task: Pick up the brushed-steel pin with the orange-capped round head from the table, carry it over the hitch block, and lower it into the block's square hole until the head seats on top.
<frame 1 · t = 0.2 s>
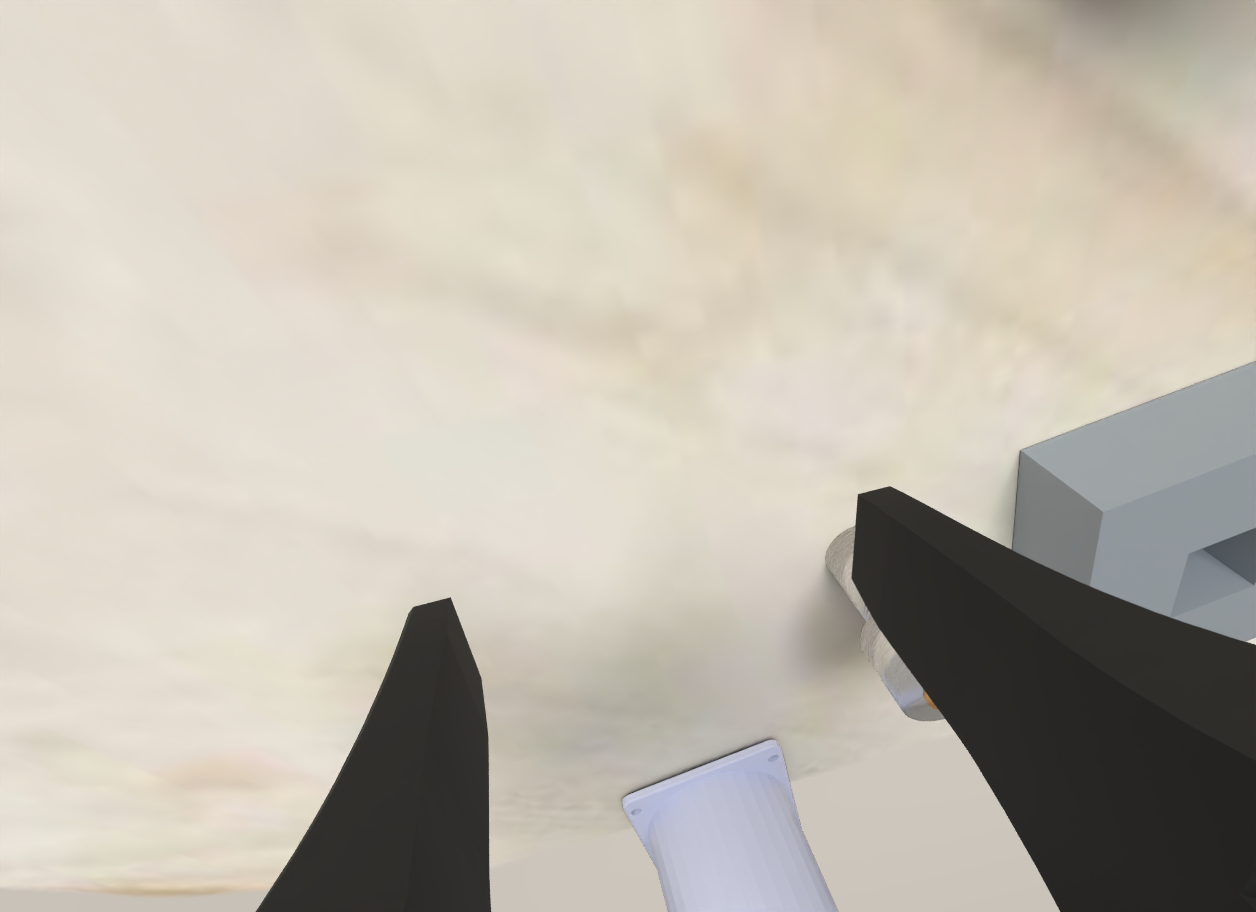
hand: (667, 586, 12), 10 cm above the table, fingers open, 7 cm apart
hitch block: (1137, 509, 30), on the table
pin: (856, 550, 27), on the table
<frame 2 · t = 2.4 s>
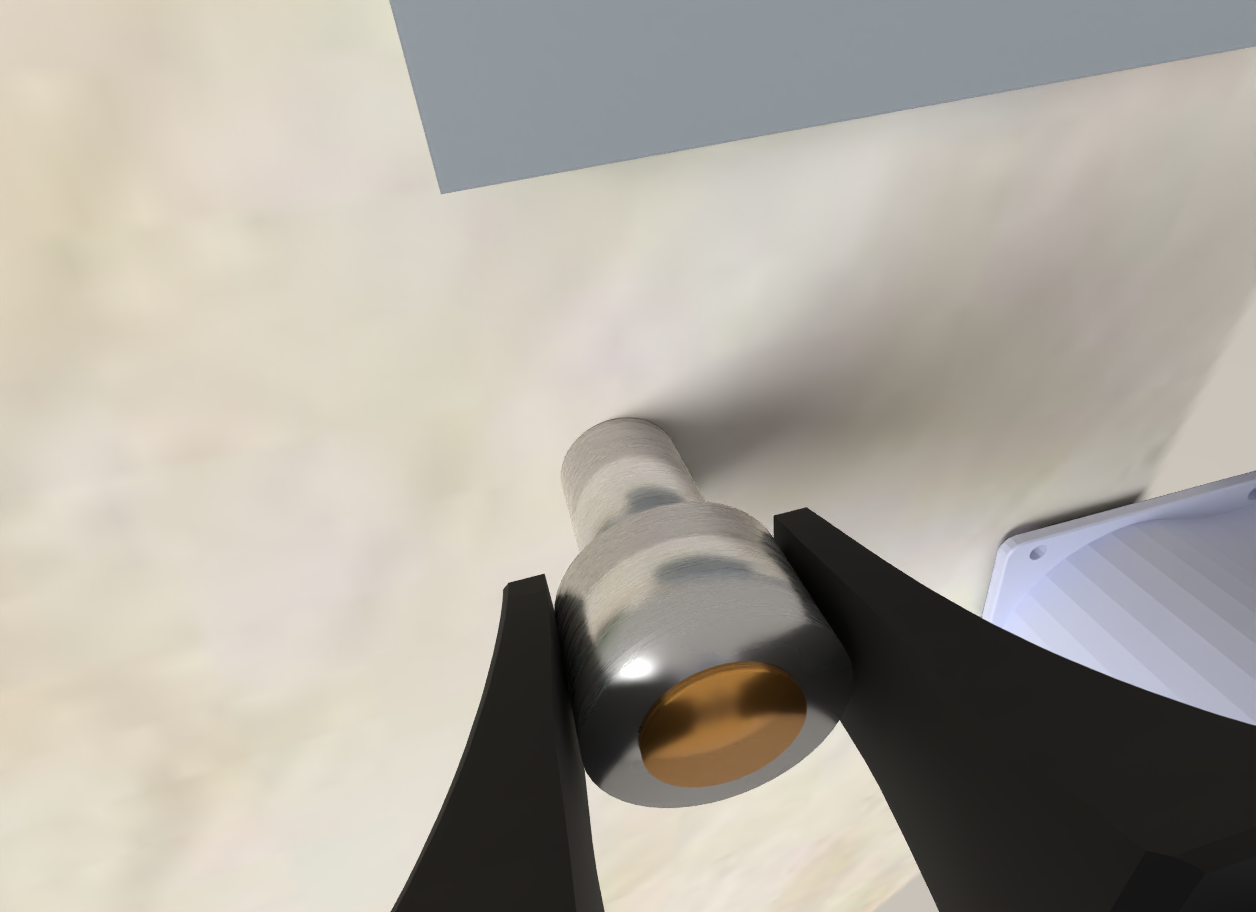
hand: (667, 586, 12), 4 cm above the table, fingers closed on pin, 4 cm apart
pin: (620, 470, 15), on the table, touching gripper
when the fingers open (5 cm above the table, at t = 6.3 s): pin drops 1 cm, resting on hitch block.
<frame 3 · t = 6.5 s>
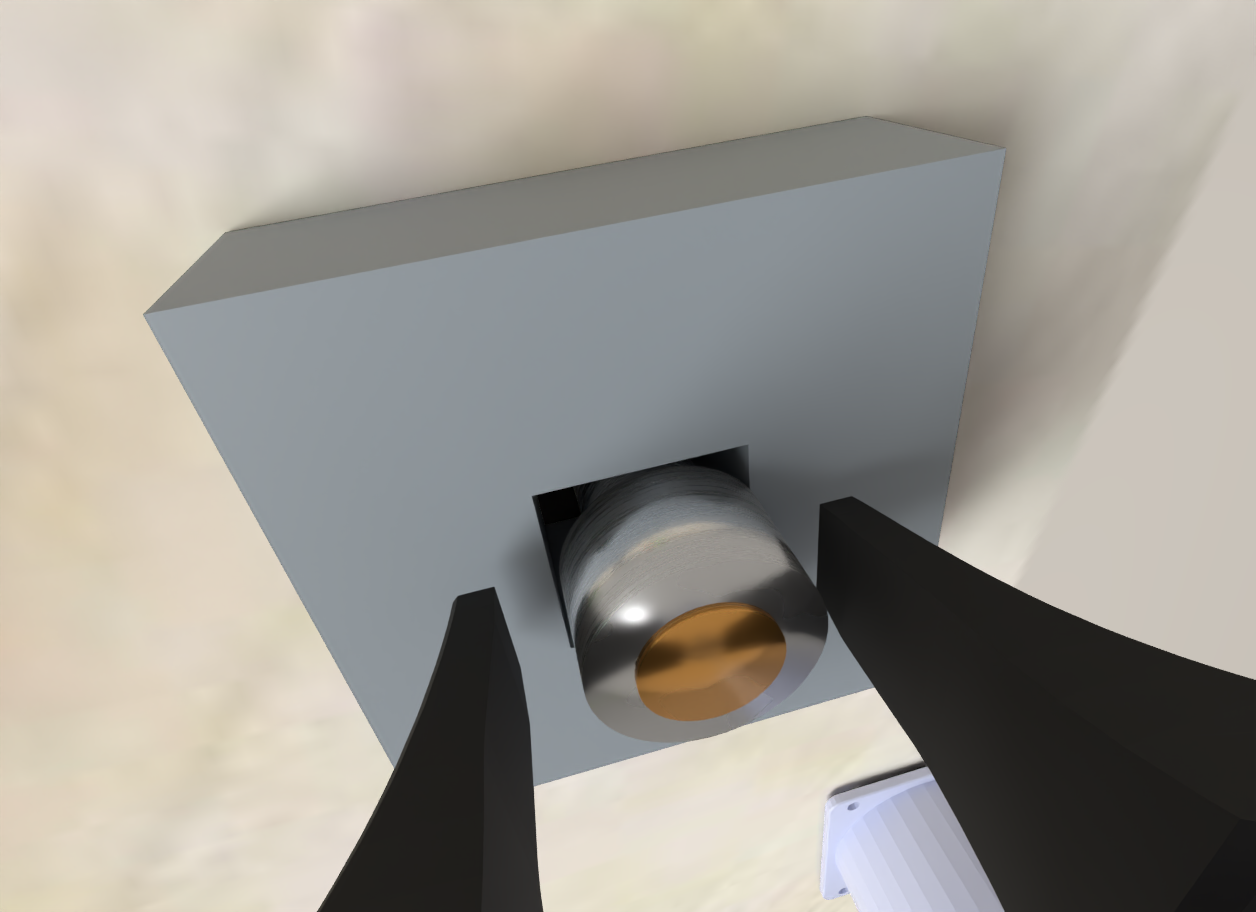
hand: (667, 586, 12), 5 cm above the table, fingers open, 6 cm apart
hitch block: (609, 442, 16), on the table
pin: (619, 446, 16), resting on hitch block
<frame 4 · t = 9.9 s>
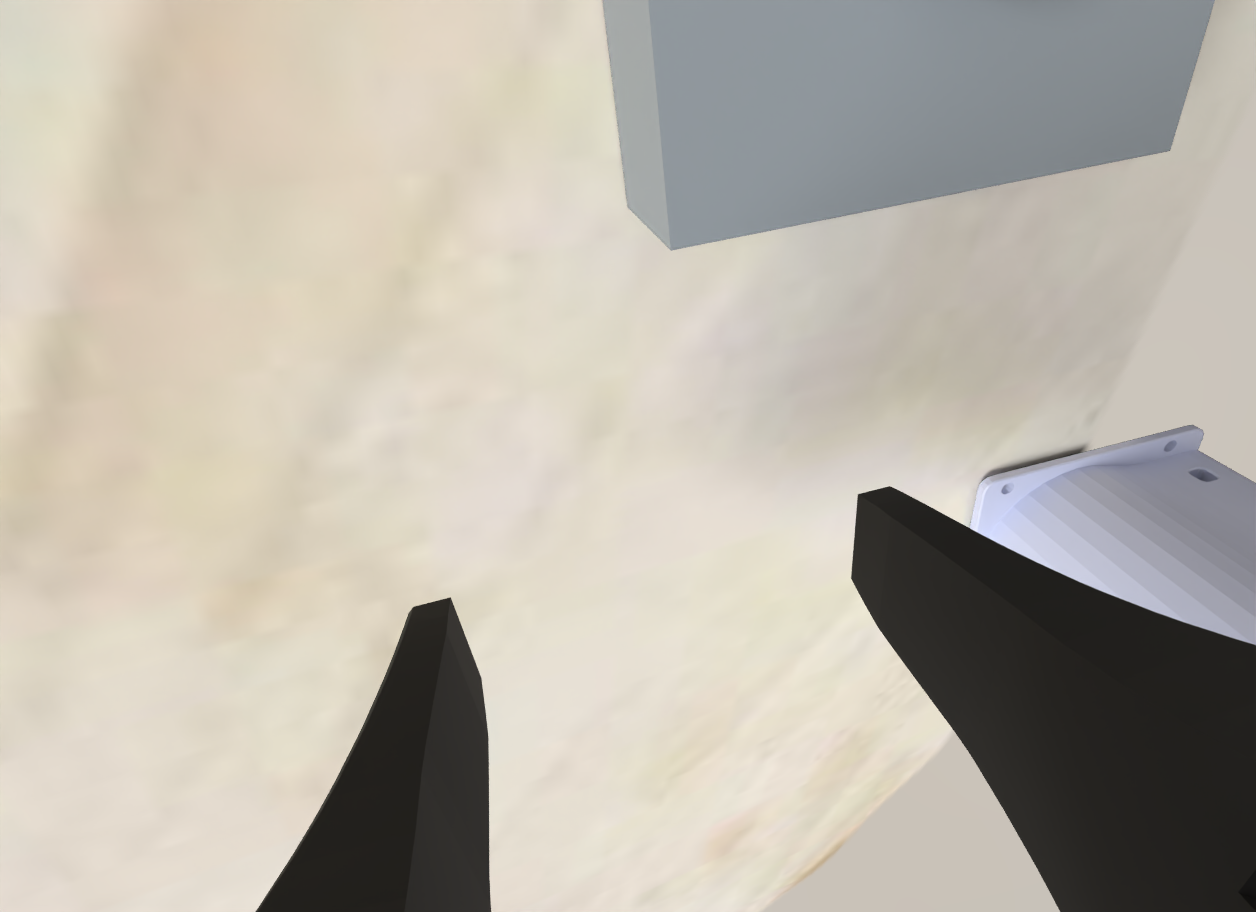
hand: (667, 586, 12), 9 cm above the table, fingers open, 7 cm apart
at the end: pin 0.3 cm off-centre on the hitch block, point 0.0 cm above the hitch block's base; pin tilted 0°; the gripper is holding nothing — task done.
